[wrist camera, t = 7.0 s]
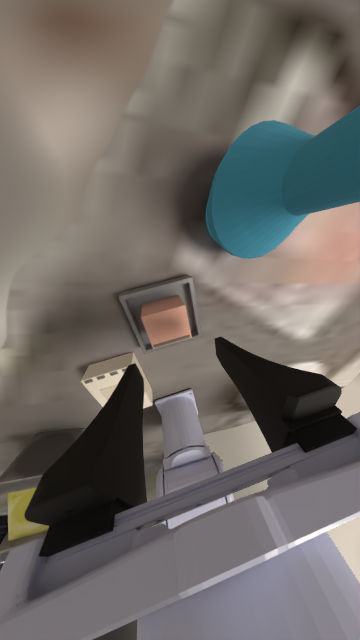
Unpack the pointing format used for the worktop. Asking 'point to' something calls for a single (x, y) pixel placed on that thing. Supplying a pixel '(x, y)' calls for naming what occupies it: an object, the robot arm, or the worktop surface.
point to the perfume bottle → (281, 182)
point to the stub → (166, 321)
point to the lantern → (30, 484)
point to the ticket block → (112, 378)
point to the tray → (155, 292)
